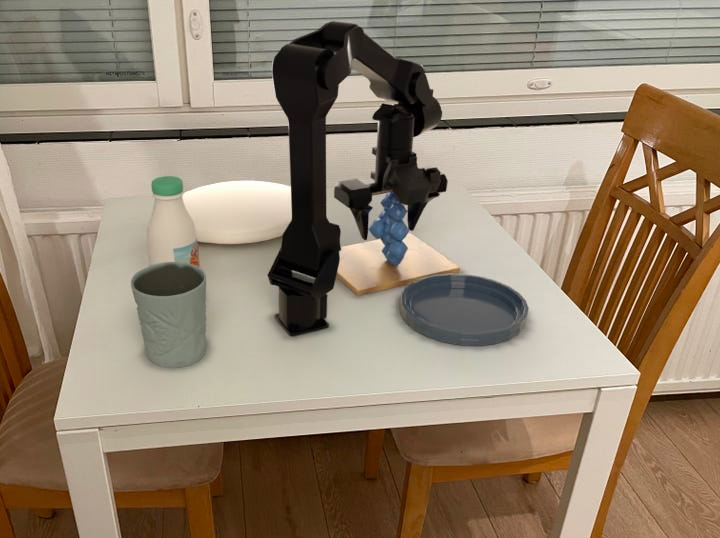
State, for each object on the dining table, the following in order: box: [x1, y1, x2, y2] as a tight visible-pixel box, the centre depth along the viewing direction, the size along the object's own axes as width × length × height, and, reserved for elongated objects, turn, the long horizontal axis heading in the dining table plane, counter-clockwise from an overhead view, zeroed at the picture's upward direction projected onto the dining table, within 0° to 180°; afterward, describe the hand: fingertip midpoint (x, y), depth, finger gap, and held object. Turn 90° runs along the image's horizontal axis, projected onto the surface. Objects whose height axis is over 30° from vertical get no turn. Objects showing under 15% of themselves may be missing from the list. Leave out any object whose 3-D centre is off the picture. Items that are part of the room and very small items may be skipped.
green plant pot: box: [130, 262, 207, 369], centre depth 105 cm, size 10×10×12 cm
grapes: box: [368, 192, 410, 266], centre depth 128 cm, size 12×7×12 cm, turn 6°
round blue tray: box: [399, 273, 529, 347], centre depth 117 cm, size 19×19×2 cm
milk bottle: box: [146, 175, 201, 268], centre depth 116 cm, size 8×8×20 cm
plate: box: [182, 180, 292, 245], centre depth 145 cm, size 28×6×27 cm
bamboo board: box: [336, 232, 461, 297], centre depth 132 cm, size 20×16×1 cm
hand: (387, 234), depth 129 cm, fingers open, 9 cm apart
